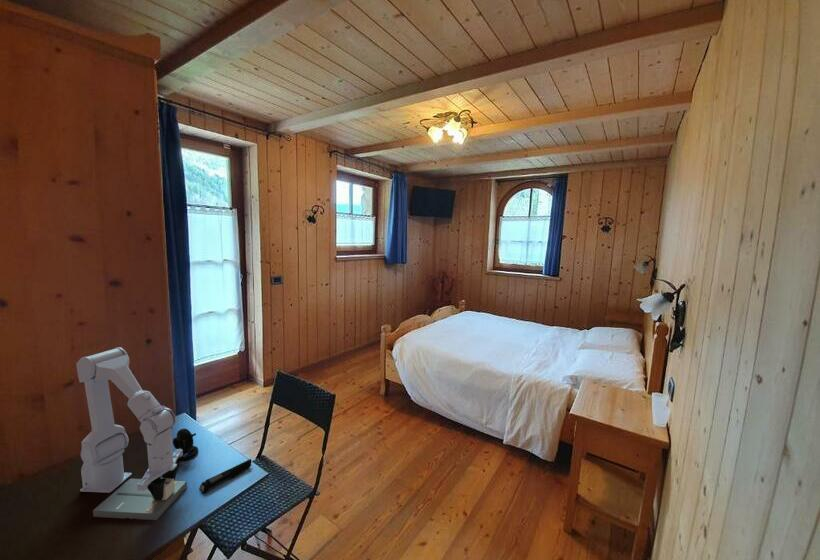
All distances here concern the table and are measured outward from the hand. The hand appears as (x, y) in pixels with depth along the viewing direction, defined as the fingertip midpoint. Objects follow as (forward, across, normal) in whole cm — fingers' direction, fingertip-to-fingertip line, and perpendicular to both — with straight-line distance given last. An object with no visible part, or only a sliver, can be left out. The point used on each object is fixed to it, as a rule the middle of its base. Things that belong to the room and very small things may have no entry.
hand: (163, 493), depth 96 cm
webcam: (+3, +20, +8) cm, 22 cm away
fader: (0, 0, 0) cm, 0 cm away
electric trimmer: (+3, +10, -12) cm, 17 cm away
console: (+3, 0, +6) cm, 7 cm away
